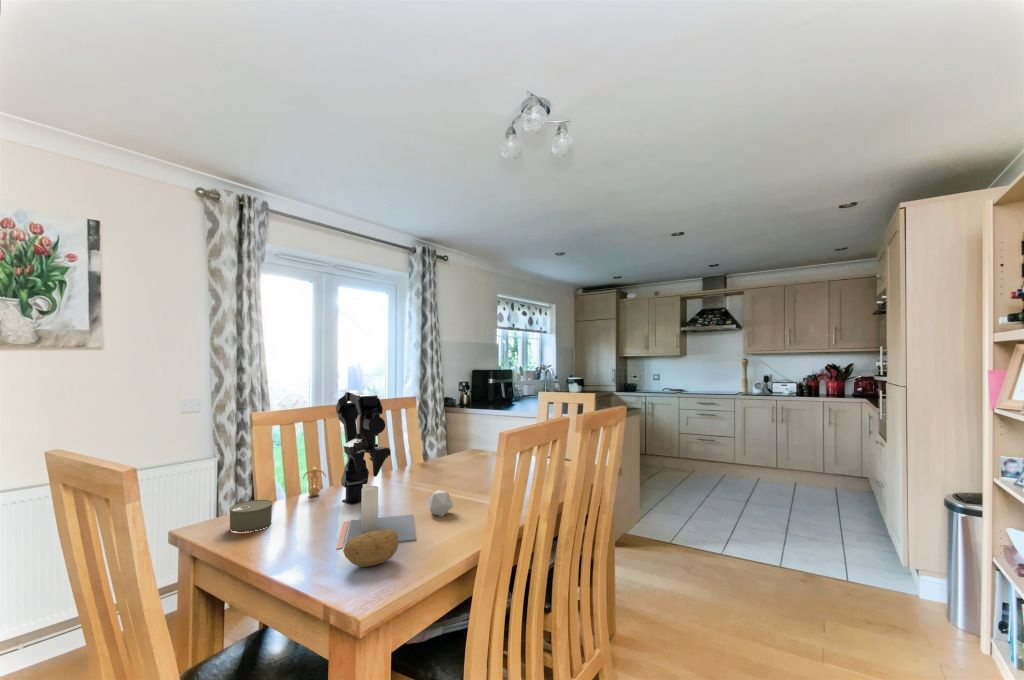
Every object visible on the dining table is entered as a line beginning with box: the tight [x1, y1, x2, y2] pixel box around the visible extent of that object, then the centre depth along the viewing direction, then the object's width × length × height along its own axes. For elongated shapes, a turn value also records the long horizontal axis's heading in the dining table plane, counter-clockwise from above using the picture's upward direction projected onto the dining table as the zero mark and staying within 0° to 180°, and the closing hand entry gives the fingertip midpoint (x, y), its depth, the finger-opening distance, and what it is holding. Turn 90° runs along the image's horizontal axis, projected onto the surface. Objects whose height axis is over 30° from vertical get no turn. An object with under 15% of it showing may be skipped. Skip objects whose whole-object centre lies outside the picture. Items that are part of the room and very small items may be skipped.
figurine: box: [302, 465, 327, 497], centre depth 176 cm, size 8×6×12 cm
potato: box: [342, 529, 399, 568], centre depth 117 cm, size 10×14×8 cm
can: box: [229, 499, 273, 532], centre depth 144 cm, size 12×12×7 cm
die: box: [426, 489, 454, 518], centre depth 155 cm, size 8×9×10 cm
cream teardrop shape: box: [360, 485, 379, 533], centre depth 139 cm, size 5×5×13 cm
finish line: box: [335, 520, 350, 550], centre depth 137 cm, size 22×2×1 cm, turn 15°
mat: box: [344, 514, 418, 546], centre depth 140 cm, size 20×22×1 cm
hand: (366, 474), depth 158 cm, fingers open, 9 cm apart
